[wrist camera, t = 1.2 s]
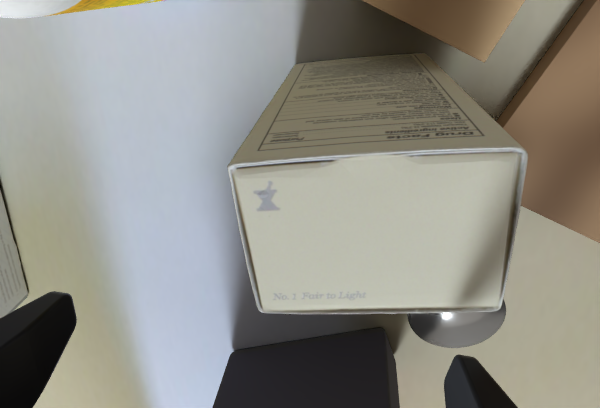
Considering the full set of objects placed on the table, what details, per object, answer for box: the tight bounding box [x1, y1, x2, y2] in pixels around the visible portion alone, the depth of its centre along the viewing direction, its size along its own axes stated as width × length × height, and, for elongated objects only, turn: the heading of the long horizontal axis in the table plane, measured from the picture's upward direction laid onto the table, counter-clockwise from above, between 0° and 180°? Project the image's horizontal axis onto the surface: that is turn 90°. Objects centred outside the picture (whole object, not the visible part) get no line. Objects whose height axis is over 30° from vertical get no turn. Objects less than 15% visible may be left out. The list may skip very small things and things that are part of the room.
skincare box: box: [228, 53, 528, 314], centre depth 15 cm, size 6×4×12 cm
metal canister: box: [407, 300, 506, 348], centre depth 20 cm, size 4×4×6 cm
